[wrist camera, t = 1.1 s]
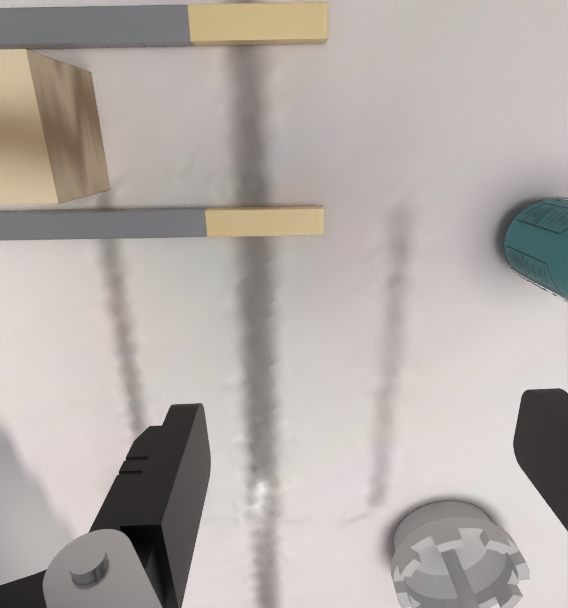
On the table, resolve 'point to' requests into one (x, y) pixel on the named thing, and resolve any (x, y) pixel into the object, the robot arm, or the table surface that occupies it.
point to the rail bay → (159, 33)
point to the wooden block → (48, 131)
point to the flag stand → (455, 559)
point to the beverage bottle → (541, 244)
